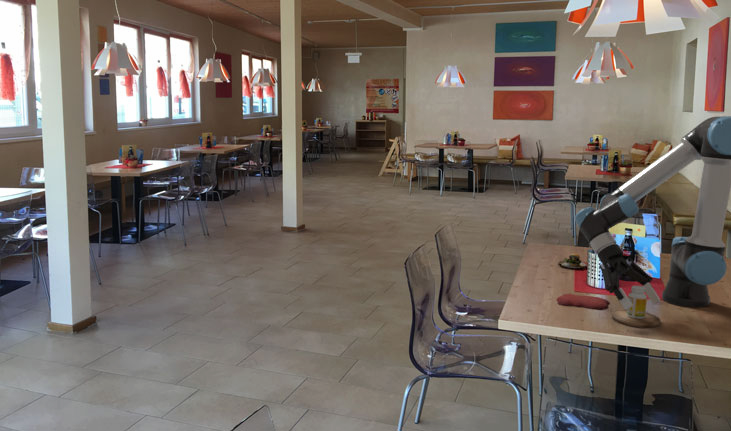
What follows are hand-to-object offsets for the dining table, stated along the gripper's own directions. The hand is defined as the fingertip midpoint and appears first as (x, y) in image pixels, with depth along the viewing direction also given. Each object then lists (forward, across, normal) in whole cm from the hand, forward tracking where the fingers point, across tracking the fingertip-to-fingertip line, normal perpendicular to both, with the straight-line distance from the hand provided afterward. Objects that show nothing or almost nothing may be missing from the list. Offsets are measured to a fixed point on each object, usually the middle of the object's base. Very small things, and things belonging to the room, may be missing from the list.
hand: (643, 305), depth 194 cm
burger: (-40, -40, -49) cm, 75 cm away
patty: (-12, -1, -22) cm, 25 cm away
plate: (+2, 0, -6) cm, 6 cm away
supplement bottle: (+2, 0, -5) cm, 5 cm away
